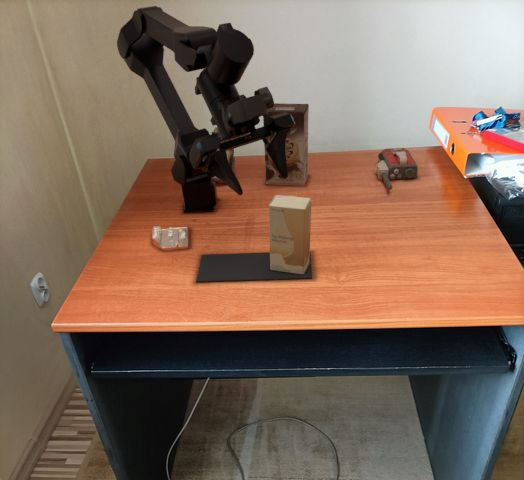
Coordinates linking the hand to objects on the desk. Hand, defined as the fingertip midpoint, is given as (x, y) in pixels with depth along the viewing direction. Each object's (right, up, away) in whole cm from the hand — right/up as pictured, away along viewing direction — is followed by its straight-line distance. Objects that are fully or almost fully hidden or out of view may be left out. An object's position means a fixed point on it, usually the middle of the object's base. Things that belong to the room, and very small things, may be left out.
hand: (264, 185), depth 88 cm
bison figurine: (-10, +14, +37) cm, 40 cm away
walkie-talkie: (+30, +12, +31) cm, 45 cm away
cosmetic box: (+5, -14, +3) cm, 15 cm away
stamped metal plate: (-18, -7, +13) cm, 24 cm away
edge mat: (-2, -13, +4) cm, 14 cm away
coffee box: (+6, +11, +33) cm, 35 cm away
